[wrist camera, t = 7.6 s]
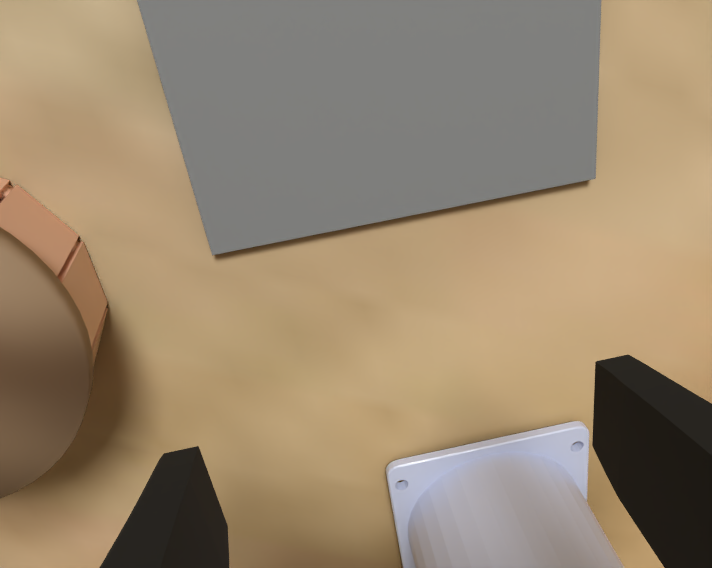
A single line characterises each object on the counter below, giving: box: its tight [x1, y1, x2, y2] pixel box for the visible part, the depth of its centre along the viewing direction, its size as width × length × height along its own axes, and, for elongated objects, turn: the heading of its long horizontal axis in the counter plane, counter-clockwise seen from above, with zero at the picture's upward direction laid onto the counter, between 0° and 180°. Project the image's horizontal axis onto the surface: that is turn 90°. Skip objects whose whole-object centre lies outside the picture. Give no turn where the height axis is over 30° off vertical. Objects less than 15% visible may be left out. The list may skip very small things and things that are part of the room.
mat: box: [137, 0, 601, 255], centre depth 17 cm, size 12×12×1 cm
